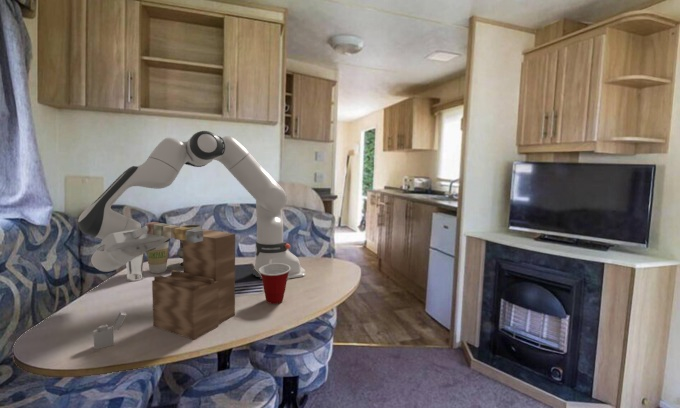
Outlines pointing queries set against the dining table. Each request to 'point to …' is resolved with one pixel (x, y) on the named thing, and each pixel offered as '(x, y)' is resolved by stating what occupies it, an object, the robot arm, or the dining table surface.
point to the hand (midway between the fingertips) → (155, 226)
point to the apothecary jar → (180, 251)
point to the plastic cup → (274, 281)
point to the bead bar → (175, 232)
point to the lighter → (107, 333)
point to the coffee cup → (158, 258)
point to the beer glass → (135, 269)
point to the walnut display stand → (198, 287)
